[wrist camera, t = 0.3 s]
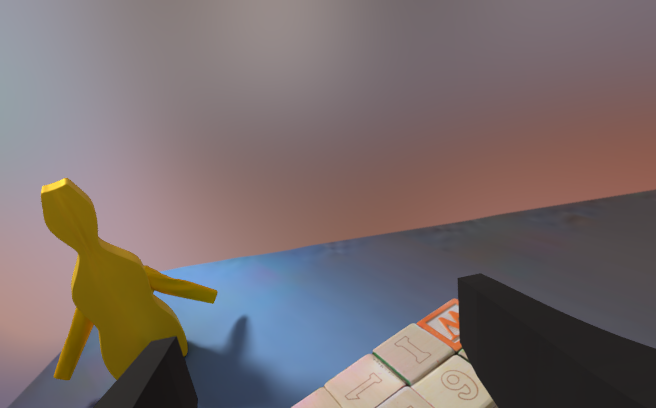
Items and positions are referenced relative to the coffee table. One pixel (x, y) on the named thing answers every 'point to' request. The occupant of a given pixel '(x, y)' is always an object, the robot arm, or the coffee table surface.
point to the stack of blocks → (409, 371)
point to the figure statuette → (111, 288)
